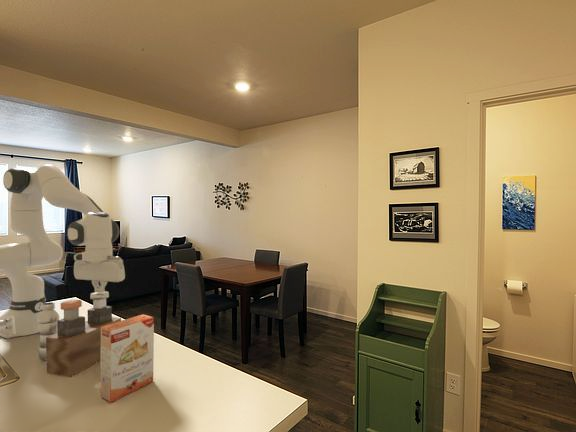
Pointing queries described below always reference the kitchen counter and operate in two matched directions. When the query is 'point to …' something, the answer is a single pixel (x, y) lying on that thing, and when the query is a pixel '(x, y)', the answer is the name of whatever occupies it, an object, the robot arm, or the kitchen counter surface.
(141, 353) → the cracker box
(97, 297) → the grey plunger
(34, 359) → the kitchen counter surface
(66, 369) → the stand
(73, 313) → the orange ball
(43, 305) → the plastic bottle
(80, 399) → the kitchen counter surface
